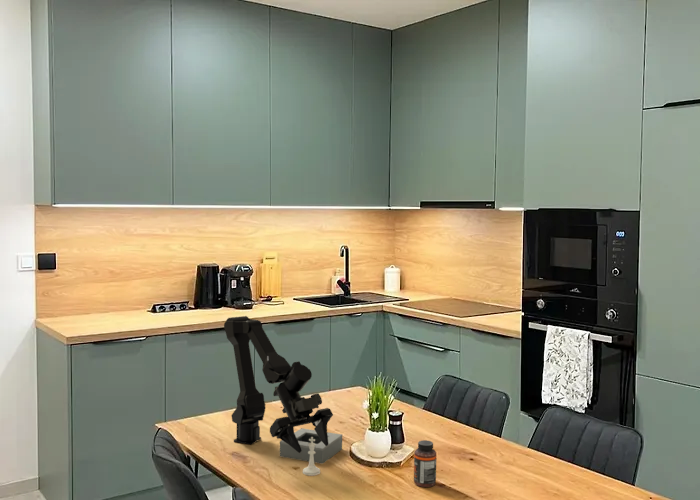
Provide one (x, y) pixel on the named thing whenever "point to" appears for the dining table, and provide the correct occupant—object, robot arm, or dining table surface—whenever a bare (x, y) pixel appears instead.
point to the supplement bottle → (425, 464)
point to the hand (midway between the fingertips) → (314, 448)
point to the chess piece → (311, 461)
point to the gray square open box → (314, 448)
